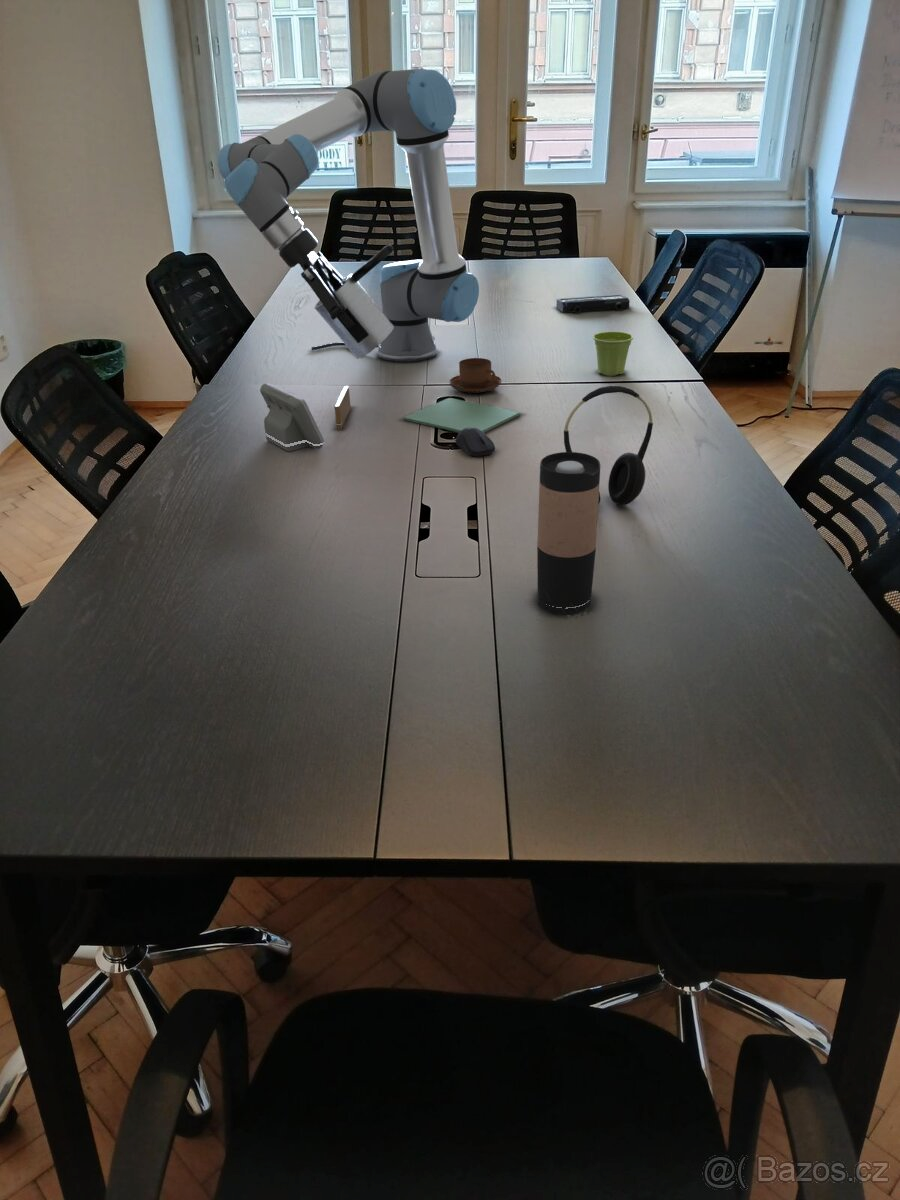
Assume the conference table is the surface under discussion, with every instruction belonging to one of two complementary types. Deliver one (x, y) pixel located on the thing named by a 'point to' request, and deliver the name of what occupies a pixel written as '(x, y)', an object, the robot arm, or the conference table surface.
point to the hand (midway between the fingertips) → (366, 330)
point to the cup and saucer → (475, 376)
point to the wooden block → (342, 407)
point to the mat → (461, 415)
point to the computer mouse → (474, 442)
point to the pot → (360, 309)
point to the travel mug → (567, 530)
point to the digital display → (592, 303)
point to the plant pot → (612, 351)
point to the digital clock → (289, 419)
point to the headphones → (629, 466)
